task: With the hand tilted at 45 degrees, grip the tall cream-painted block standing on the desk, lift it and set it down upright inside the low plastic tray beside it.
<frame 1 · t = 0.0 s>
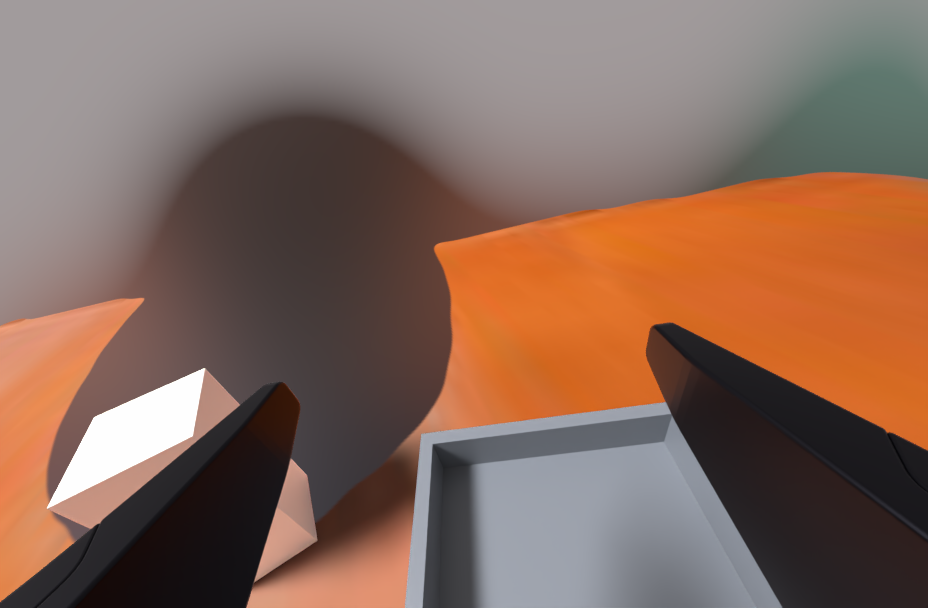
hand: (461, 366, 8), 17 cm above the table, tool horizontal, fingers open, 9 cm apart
cream block: (275, 528, 22), on the table
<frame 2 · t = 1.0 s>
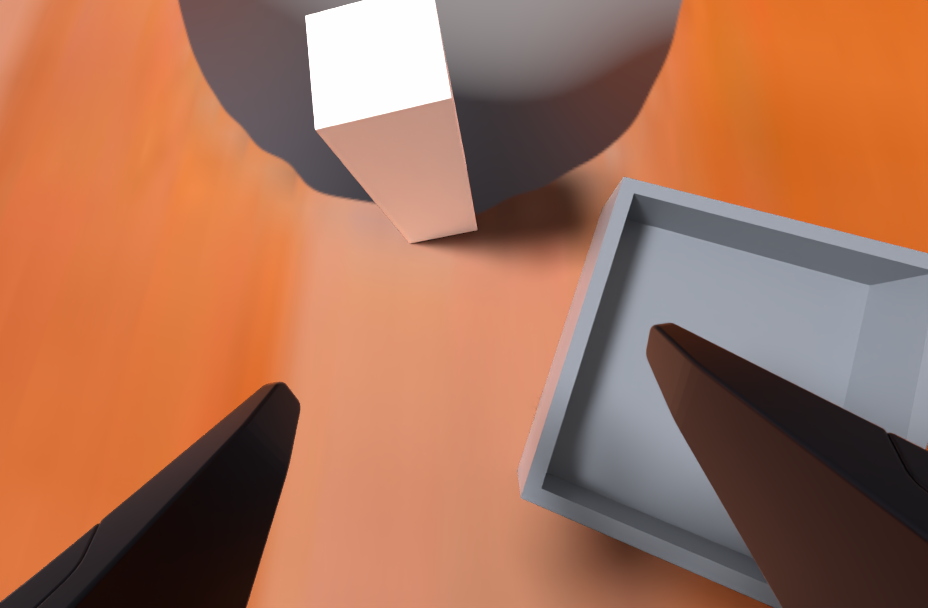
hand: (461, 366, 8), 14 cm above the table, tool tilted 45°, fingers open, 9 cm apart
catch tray: (690, 377, 20), on the table
cream block: (438, 204, 24), on the table
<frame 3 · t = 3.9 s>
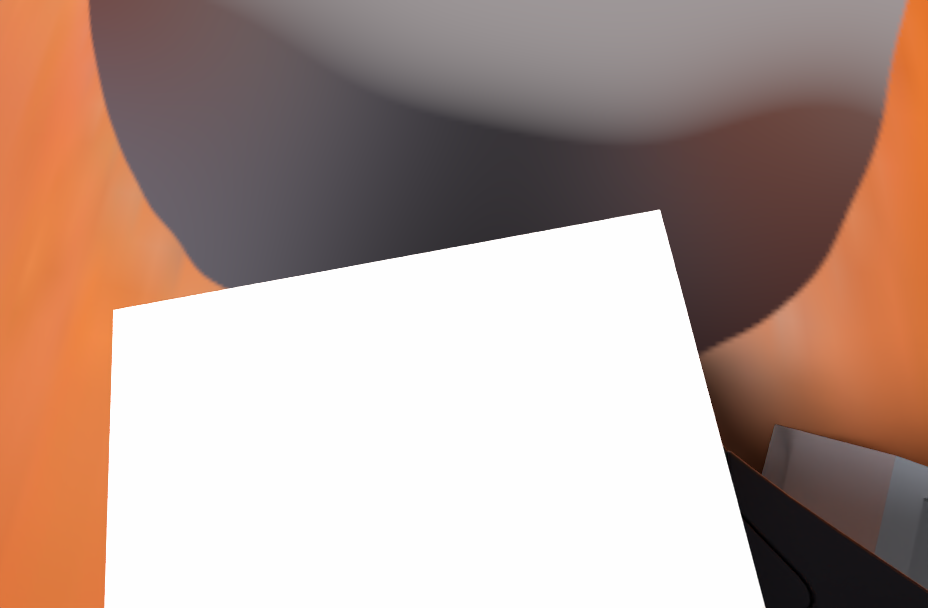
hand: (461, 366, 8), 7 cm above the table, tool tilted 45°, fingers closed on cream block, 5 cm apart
cream block: (484, 392, 14), on the table, touching gripper
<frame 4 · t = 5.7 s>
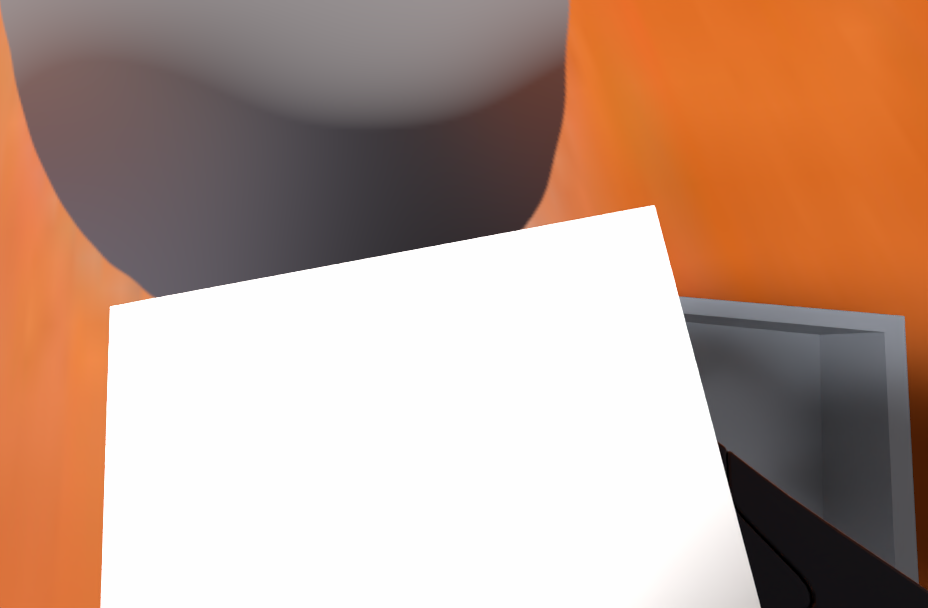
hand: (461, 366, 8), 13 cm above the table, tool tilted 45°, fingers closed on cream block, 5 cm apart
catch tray: (661, 466, 18), on the table
cream block: (483, 391, 14), point 6 cm above the table, touching gripper
when the fingers open (9 cm above the table, at t = 7.7 s): cream block drops 1 cm, resting on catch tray.
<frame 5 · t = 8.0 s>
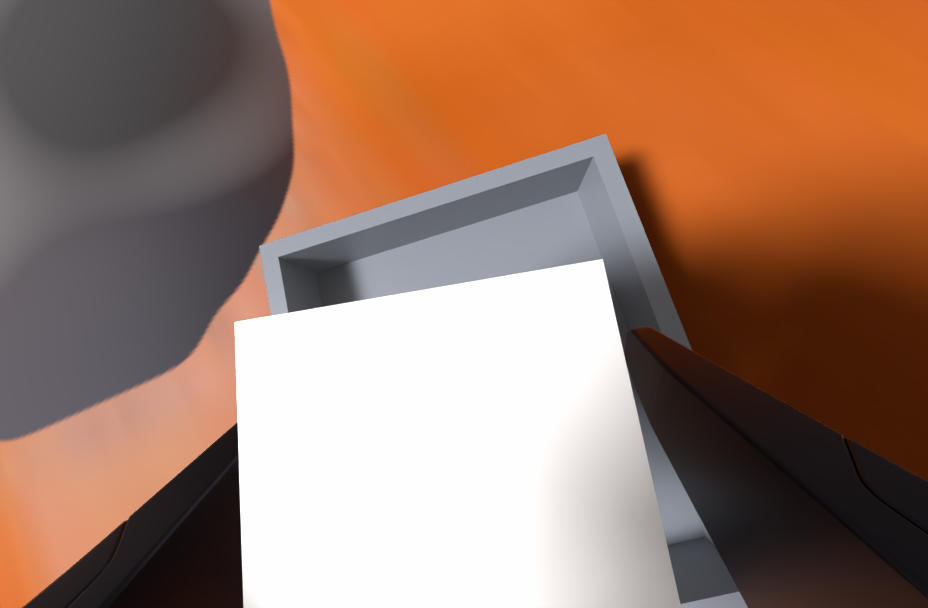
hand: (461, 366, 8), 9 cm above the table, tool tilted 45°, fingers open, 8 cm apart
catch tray: (487, 386, 17), on the table
cream block: (485, 388, 16), point 1 cm above the table, touching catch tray
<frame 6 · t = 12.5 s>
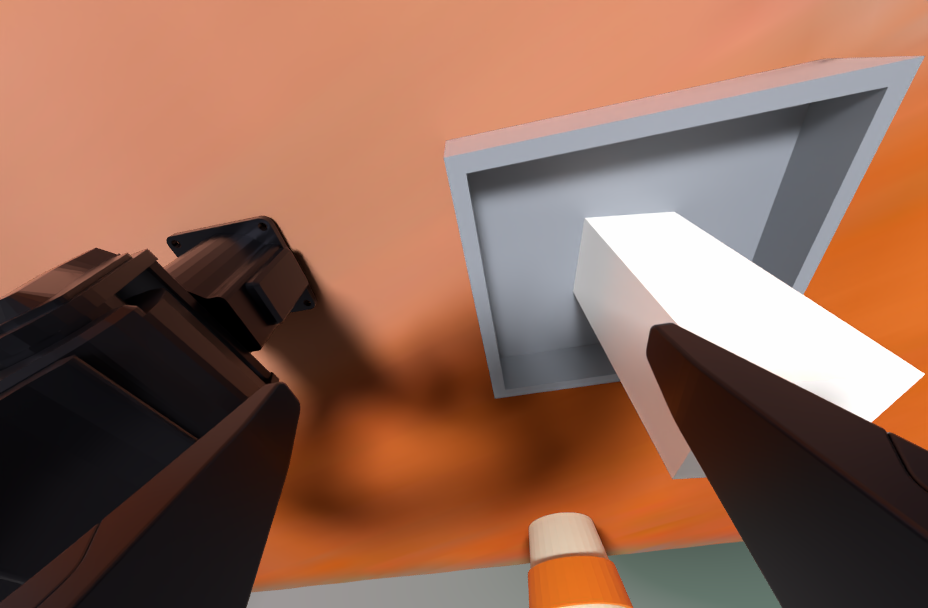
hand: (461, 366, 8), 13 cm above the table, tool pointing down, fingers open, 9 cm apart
reusable coffee cup: (560, 524, 46), on the table
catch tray: (612, 247, 21), on the table
cream block: (619, 254, 20), point 1 cm above the table, touching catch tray
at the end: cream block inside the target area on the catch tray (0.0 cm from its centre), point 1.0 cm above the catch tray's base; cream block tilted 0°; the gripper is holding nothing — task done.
